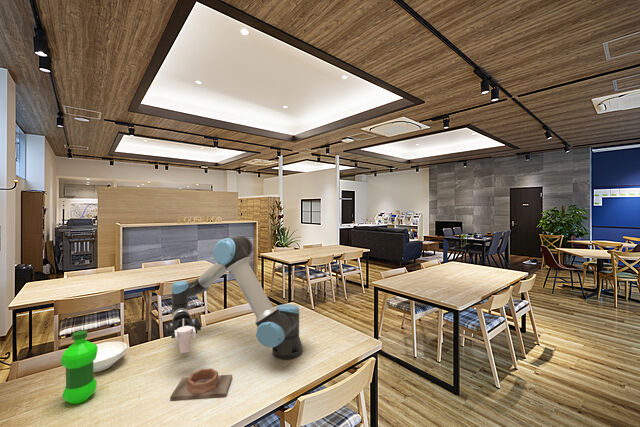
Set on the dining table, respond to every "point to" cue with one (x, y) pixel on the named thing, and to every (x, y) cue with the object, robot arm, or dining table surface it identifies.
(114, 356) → the bowl
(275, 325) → the robot arm
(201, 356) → the dining table surface
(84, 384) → the plastic bottle
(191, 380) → the brown cup holder
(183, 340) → the smoothie
